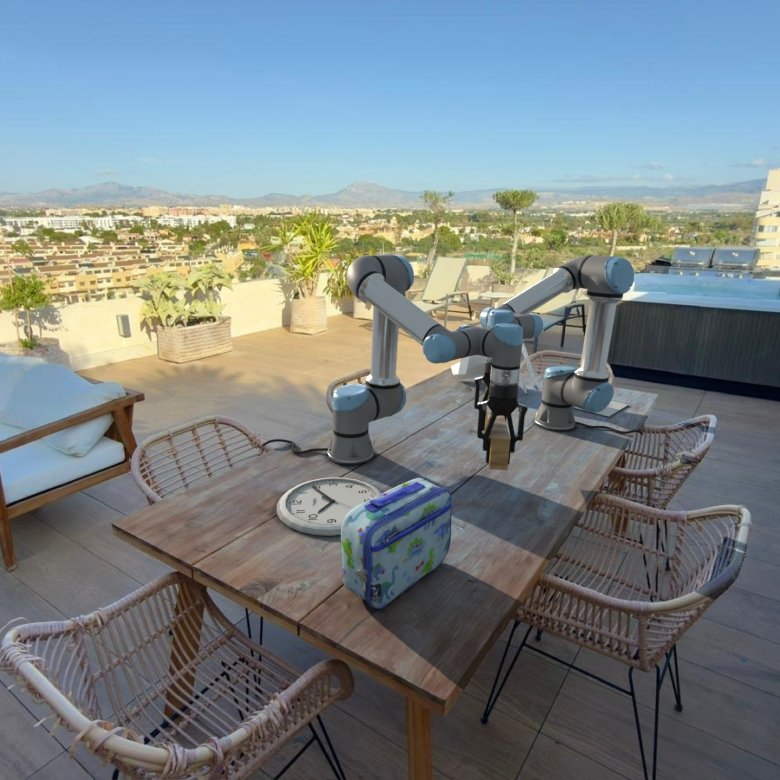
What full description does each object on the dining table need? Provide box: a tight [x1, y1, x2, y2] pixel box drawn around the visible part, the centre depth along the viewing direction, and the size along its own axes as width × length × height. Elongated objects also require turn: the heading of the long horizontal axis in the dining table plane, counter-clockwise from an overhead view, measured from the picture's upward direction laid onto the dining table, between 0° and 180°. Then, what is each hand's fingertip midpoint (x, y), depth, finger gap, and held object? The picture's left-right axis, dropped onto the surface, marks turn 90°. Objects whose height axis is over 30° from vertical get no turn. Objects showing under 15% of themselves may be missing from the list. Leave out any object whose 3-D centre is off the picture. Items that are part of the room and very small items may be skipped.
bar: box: [483, 406, 511, 471], centre depth 157 cm, size 33×5×9 cm, turn 173°
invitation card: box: [573, 400, 629, 418], centre depth 226 cm, size 21×1×15 cm
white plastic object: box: [450, 342, 540, 394], centre depth 253 cm, size 37×45×31 cm
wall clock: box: [276, 476, 383, 537], centre depth 142 cm, size 30×2×30 cm
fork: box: [437, 482, 448, 488], centre depth 145 cm, size 3×16×2 cm, turn 160°
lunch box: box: [340, 477, 452, 610], centre depth 110 cm, size 26×11×21 cm, turn 134°
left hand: (497, 461), depth 146 cm, fingers closed on bar, 5 cm apart
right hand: (491, 429), depth 170 cm, fingers closed on bar, 5 cm apart
